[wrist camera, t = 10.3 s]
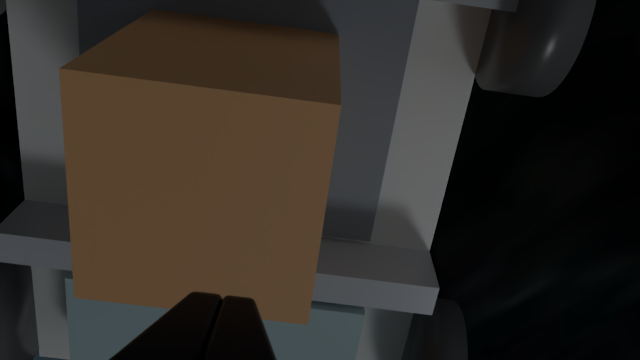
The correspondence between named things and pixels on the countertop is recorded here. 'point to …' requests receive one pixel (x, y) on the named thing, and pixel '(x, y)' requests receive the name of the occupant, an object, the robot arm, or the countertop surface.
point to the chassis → (346, 176)
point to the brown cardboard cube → (200, 161)
